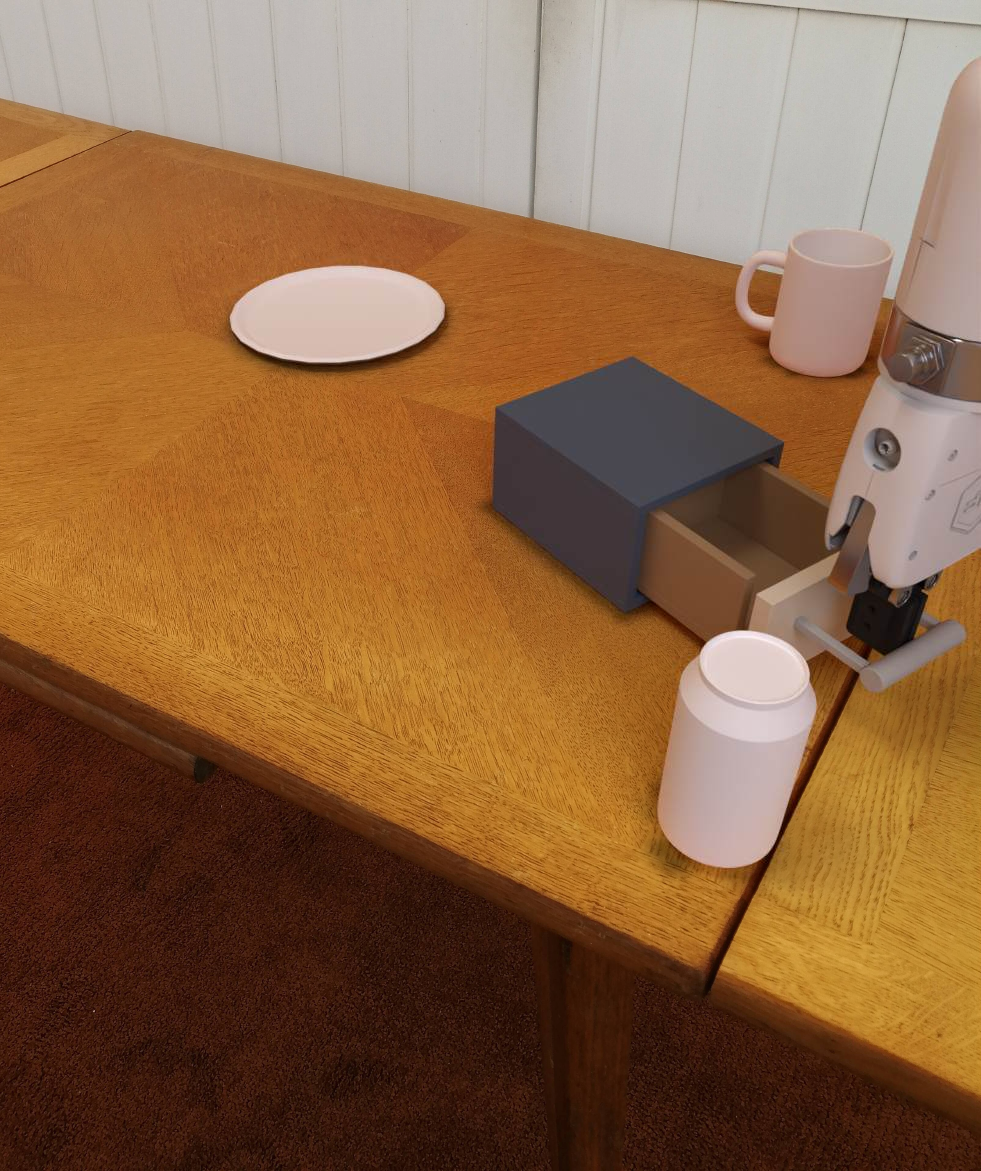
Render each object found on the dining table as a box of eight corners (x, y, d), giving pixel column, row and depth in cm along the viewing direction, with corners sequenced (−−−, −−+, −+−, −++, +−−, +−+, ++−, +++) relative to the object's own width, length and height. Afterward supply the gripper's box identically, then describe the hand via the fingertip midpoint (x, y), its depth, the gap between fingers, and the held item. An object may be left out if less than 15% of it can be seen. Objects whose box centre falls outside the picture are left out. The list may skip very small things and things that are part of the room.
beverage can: (742, 774, 60) (784, 611, 53) (797, 864, 56) (852, 700, 48) (636, 795, 59) (663, 632, 52) (683, 889, 55) (721, 725, 47)
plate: (371, 259, 116) (371, 247, 116) (488, 329, 103) (489, 317, 102) (195, 311, 108) (193, 299, 107) (297, 396, 94) (295, 383, 93)
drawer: (967, 677, 64) (1005, 589, 60) (836, 759, 60) (866, 670, 55) (722, 516, 77) (738, 434, 73) (599, 574, 73) (608, 490, 68)
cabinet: (761, 546, 76) (785, 441, 70) (624, 614, 71) (639, 507, 65) (621, 454, 86) (632, 355, 80) (491, 507, 81) (494, 406, 75)
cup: (857, 386, 92) (887, 272, 86) (716, 360, 97) (734, 250, 90) (871, 344, 98) (900, 234, 92) (736, 321, 102) (756, 215, 96)
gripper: (936, 430, 45) (840, 735, 56) (1144, 330, 51) (1018, 625, 62) (794, 361, 50) (733, 654, 61) (998, 277, 56) (907, 559, 67)
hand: (876, 639), depth 62 cm, fingers closed
